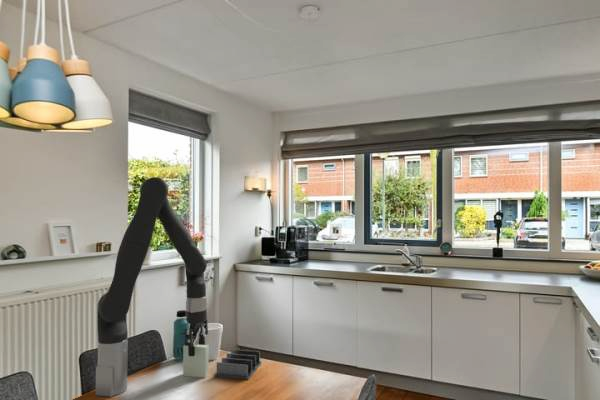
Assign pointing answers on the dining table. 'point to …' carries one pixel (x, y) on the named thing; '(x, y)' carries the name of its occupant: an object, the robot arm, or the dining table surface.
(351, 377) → the dining table surface
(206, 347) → the tile
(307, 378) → the dining table surface
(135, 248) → the robot arm
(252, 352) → the rack
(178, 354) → the beverage bottle
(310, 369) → the dining table surface
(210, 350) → the foam cup
